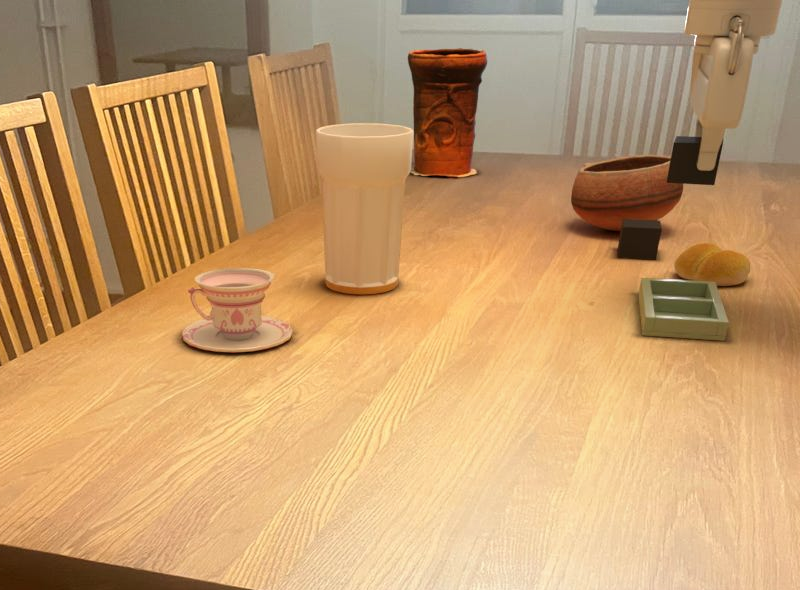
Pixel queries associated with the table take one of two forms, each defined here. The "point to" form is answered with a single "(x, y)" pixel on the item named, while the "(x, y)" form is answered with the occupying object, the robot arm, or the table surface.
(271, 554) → the table surface
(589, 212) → the bowl
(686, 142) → the pad
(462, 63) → the vessel
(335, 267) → the cup
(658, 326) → the frame
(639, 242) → the black block
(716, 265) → the bread roll
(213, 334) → the teacup
